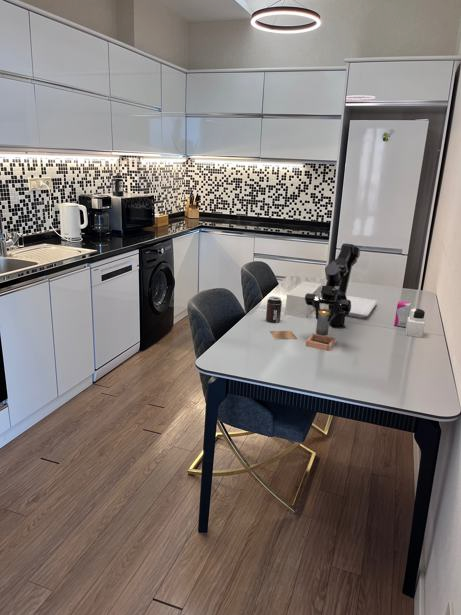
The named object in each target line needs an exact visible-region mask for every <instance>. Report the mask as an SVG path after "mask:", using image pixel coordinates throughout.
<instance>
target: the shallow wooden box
mask: <svg viewBox="0 0 461 615" xmlns="http://www.w3.org/2000/svg"><path fill="white" fill-rule="evenodd" d="M336 339H337V338H336V337H333V336H332V337H331V336H328V335H326V336H322V335H318V334H316V333H311V335H310V336H309V337H308V338H307V339H306V340H305V347H308V348H312V349H313V348H314V349H319V350H323V351H326V352H330V351H331V349H332V348H333V347H334V345H335V344H336ZM318 341H319V342H318ZM322 342H324V343H322ZM326 343H328V344H326Z"/></svg>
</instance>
